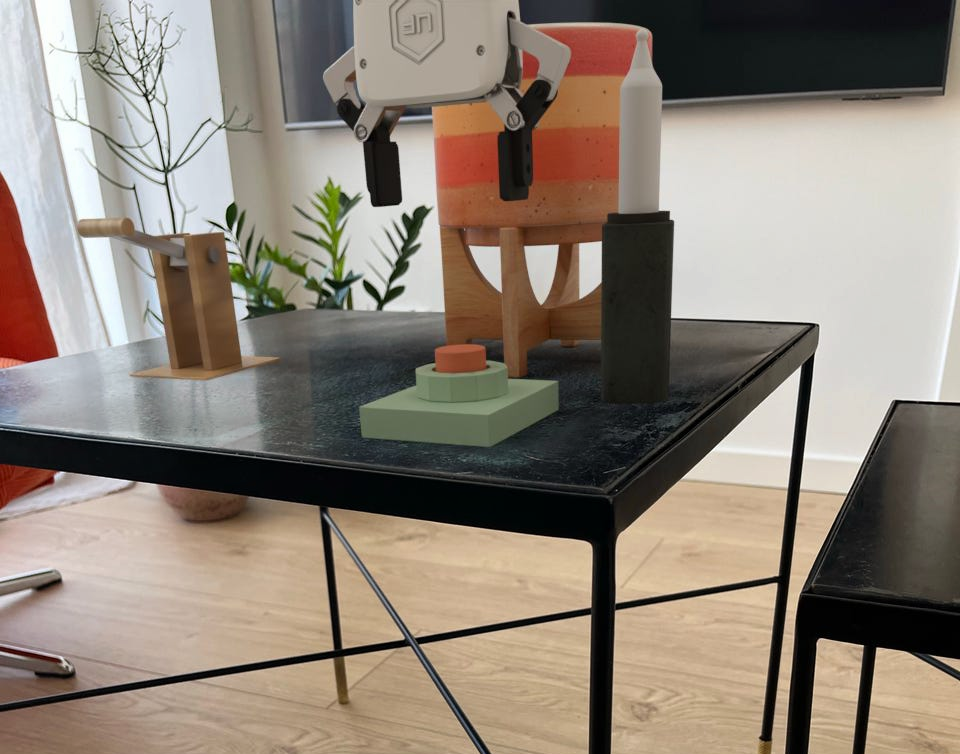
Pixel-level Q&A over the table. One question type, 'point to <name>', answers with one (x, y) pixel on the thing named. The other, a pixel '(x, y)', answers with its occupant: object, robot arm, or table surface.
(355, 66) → the robot arm
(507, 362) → the planter
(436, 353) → the button
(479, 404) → the button box
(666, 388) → the candle
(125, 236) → the lever
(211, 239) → the bracket
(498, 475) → the table surface
